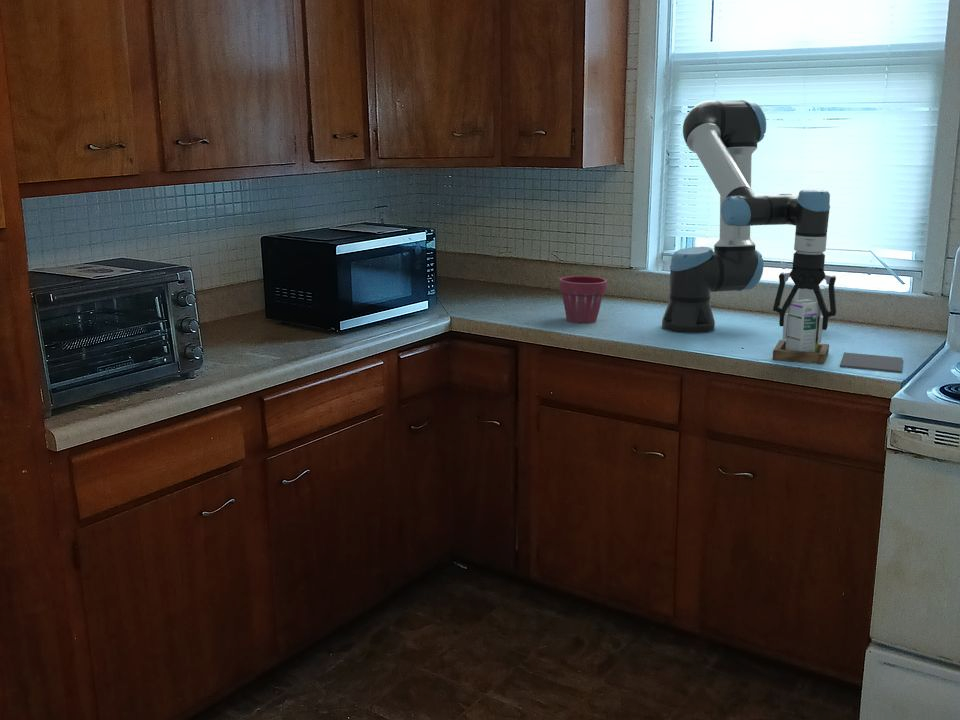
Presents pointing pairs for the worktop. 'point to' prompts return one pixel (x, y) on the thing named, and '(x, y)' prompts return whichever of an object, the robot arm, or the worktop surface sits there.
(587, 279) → the plant pot
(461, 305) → the worktop surface
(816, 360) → the walnut collar
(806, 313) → the syrup box
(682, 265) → the robot arm
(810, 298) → the supplement box
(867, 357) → the charcoal mat
